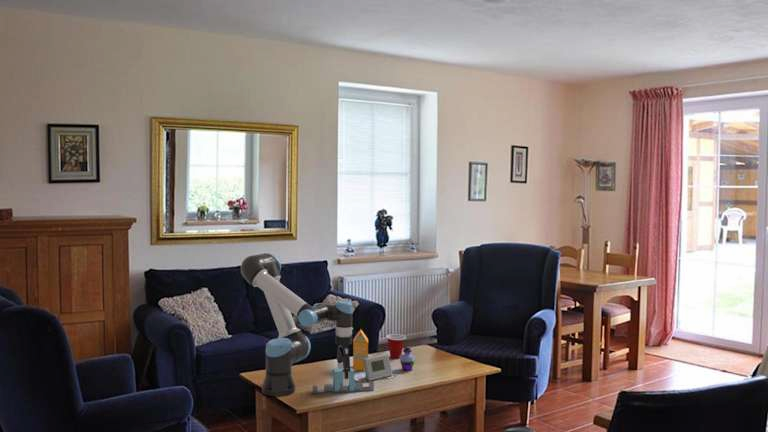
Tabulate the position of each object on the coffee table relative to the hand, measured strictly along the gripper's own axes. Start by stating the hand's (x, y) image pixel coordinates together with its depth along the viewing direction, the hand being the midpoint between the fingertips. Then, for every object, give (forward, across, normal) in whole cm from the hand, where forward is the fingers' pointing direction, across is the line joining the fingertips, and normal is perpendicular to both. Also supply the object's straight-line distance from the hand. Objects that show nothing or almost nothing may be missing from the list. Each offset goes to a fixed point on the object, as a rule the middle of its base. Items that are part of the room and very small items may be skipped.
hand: (342, 381), depth 310 cm
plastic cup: (+5, +54, -40) cm, 67 cm away
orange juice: (+5, +36, -16) cm, 40 cm away
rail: (+5, 0, 0) cm, 5 cm away
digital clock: (+5, +18, -21) cm, 28 cm away
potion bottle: (+5, +29, -39) cm, 49 cm away
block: (+4, 0, 0) cm, 4 cm away
